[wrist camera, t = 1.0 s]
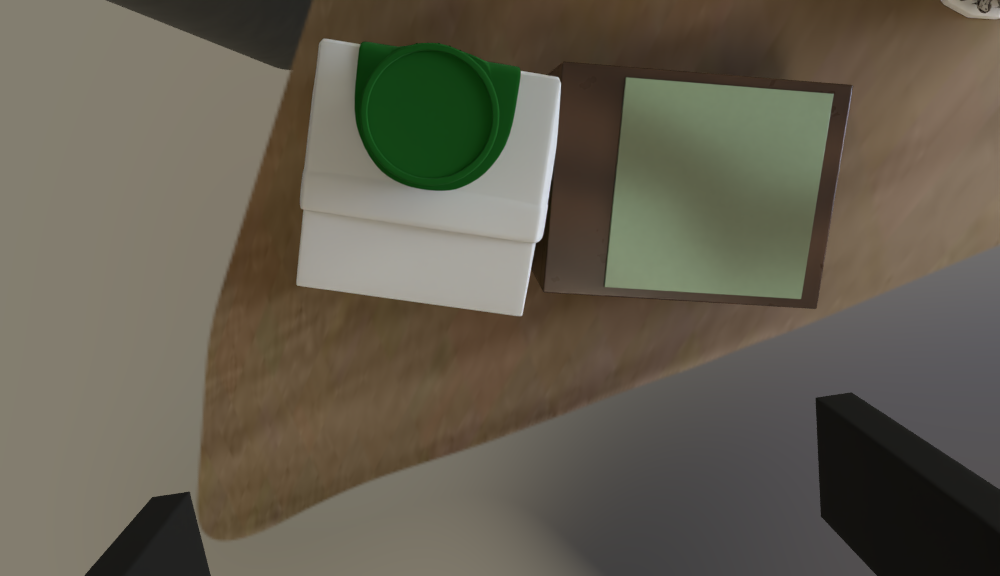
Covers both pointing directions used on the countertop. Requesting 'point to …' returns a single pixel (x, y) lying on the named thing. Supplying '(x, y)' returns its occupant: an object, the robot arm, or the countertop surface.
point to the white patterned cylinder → (975, 8)
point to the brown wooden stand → (691, 186)
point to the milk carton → (426, 175)
